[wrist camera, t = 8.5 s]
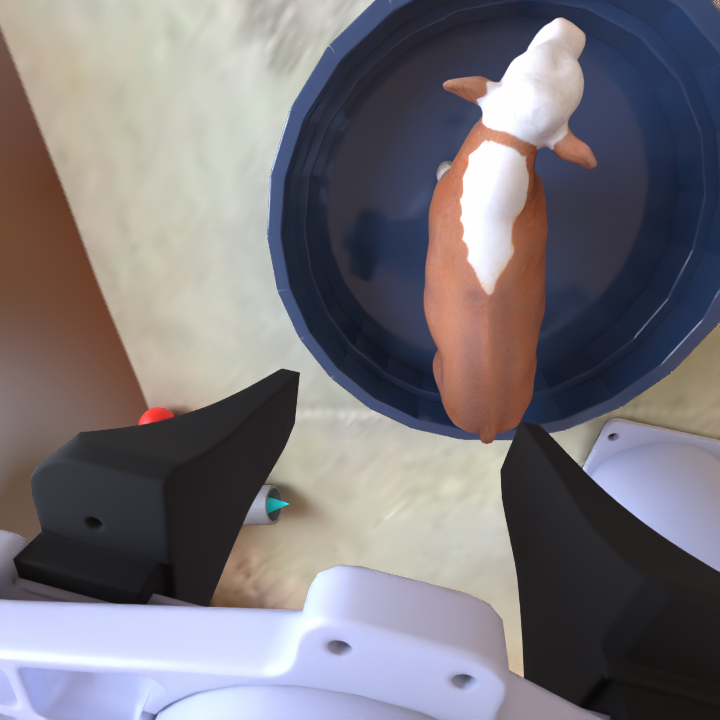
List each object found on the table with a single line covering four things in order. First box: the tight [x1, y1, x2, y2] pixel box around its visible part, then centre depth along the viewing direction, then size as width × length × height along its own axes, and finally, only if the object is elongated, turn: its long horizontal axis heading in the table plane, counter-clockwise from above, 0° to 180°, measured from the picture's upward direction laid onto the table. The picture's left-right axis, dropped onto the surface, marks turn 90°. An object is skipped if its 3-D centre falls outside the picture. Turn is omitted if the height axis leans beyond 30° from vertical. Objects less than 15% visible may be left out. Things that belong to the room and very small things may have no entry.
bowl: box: [267, 0, 720, 440], centre depth 18 cm, size 17×17×4 cm
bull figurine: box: [424, 18, 597, 444], centre depth 16 cm, size 4×13×8 cm, turn 1°
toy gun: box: [139, 408, 289, 525], centre depth 27 cm, size 10×12×5 cm
